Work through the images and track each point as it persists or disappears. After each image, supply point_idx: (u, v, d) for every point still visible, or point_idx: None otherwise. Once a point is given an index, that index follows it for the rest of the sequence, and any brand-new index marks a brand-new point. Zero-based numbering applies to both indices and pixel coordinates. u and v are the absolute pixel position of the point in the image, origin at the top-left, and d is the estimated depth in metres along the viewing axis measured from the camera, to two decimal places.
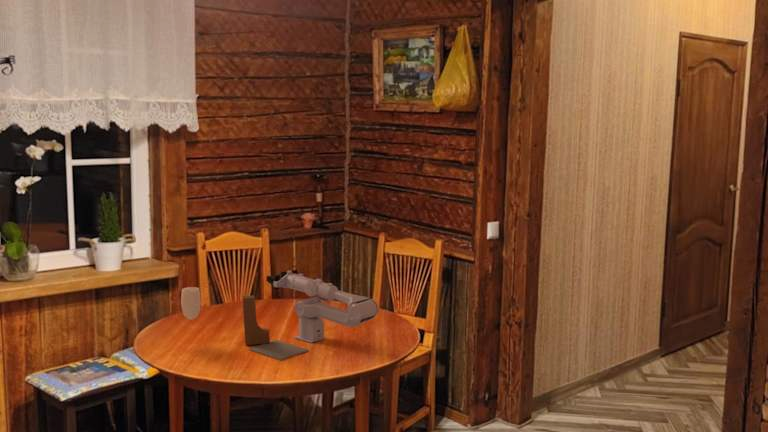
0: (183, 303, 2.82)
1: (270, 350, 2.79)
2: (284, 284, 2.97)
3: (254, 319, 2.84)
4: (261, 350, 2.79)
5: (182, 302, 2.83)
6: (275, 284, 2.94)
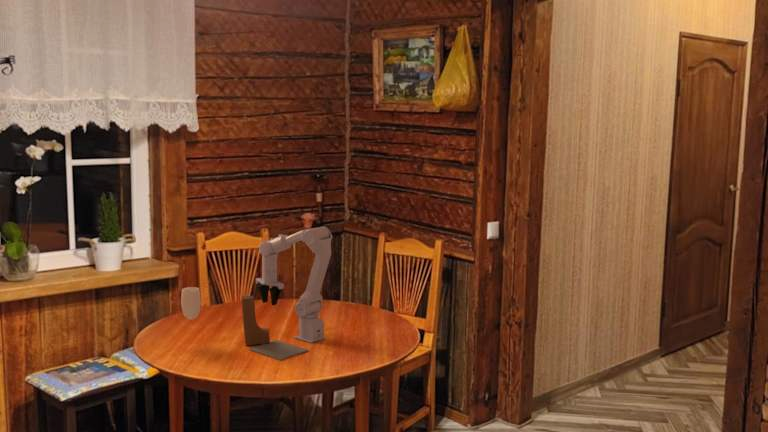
0: (183, 303, 2.82)
1: (270, 350, 2.79)
2: (276, 282, 3.03)
3: (253, 319, 2.84)
4: (261, 350, 2.79)
5: (182, 302, 2.83)
6: (281, 285, 3.00)
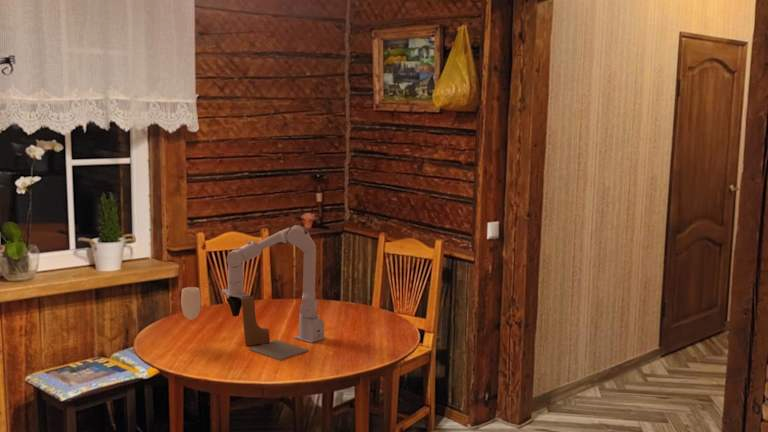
0: (183, 303, 2.82)
1: (270, 350, 2.79)
2: (242, 294, 2.92)
3: (253, 319, 2.84)
4: (261, 350, 2.79)
5: (182, 302, 2.83)
6: None
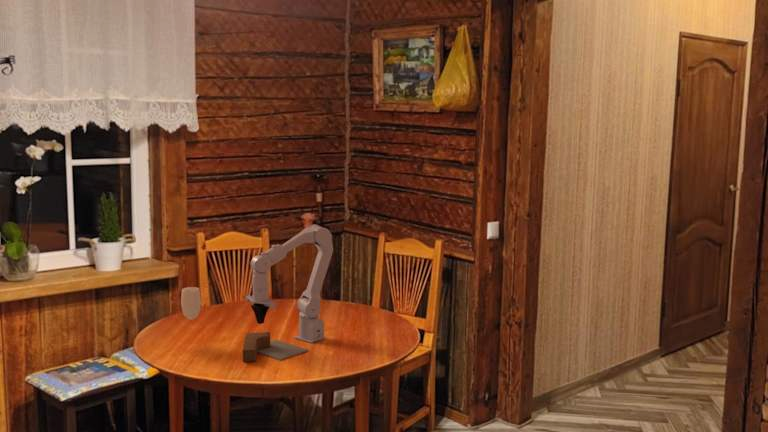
0: (183, 303, 2.82)
1: (270, 350, 2.79)
2: (267, 300, 2.83)
3: None
4: (261, 350, 2.79)
5: (182, 302, 2.83)
6: (273, 304, 2.80)
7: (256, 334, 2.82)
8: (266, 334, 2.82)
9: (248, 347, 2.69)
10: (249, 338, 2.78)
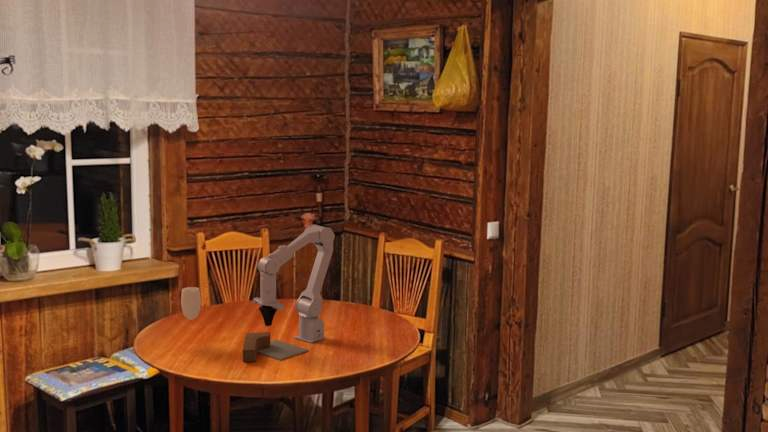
0: (183, 303, 2.82)
1: (270, 350, 2.79)
2: (275, 302, 2.80)
3: None
4: (261, 350, 2.79)
5: (182, 302, 2.83)
6: (281, 306, 2.77)
7: (256, 334, 2.82)
8: (266, 334, 2.82)
9: (248, 347, 2.69)
10: (249, 338, 2.78)
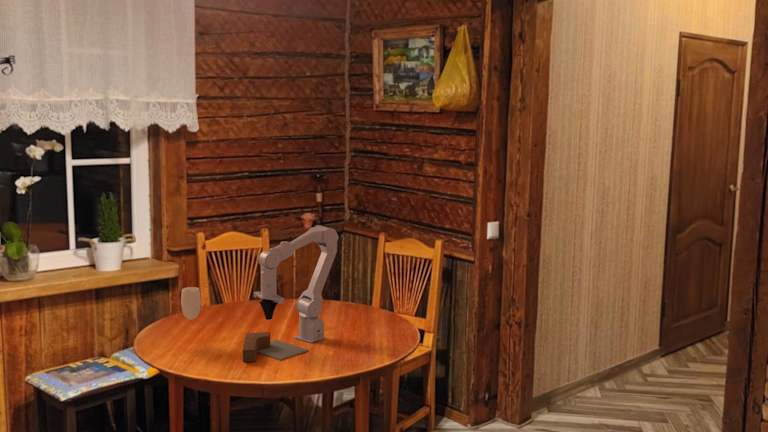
0: (183, 303, 2.82)
1: (270, 350, 2.79)
2: (276, 296, 2.82)
3: None
4: (261, 350, 2.79)
5: (182, 302, 2.83)
6: (282, 300, 2.78)
7: (256, 334, 2.82)
8: (266, 334, 2.82)
9: (248, 347, 2.69)
10: (249, 338, 2.78)
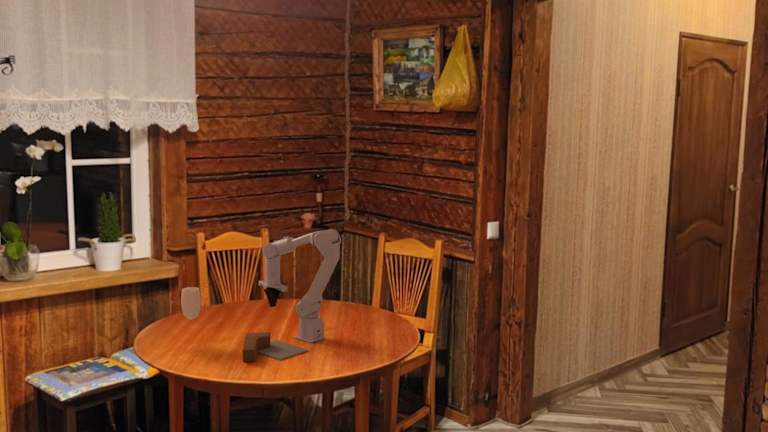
0: (183, 303, 2.82)
1: (270, 350, 2.79)
2: (279, 285, 2.99)
3: None
4: (261, 350, 2.79)
5: (182, 302, 2.83)
6: (285, 288, 2.96)
7: (256, 334, 2.82)
8: (266, 334, 2.82)
9: (248, 347, 2.69)
10: (249, 338, 2.78)
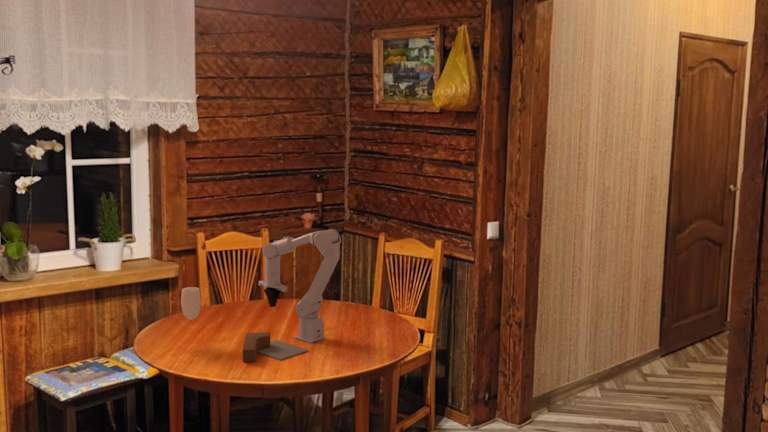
0: (183, 303, 2.82)
1: (270, 350, 2.79)
2: (279, 285, 2.99)
3: None
4: (261, 350, 2.79)
5: (182, 302, 2.83)
6: (285, 288, 2.96)
7: (256, 334, 2.82)
8: (266, 334, 2.82)
9: (248, 347, 2.69)
10: (249, 338, 2.78)
